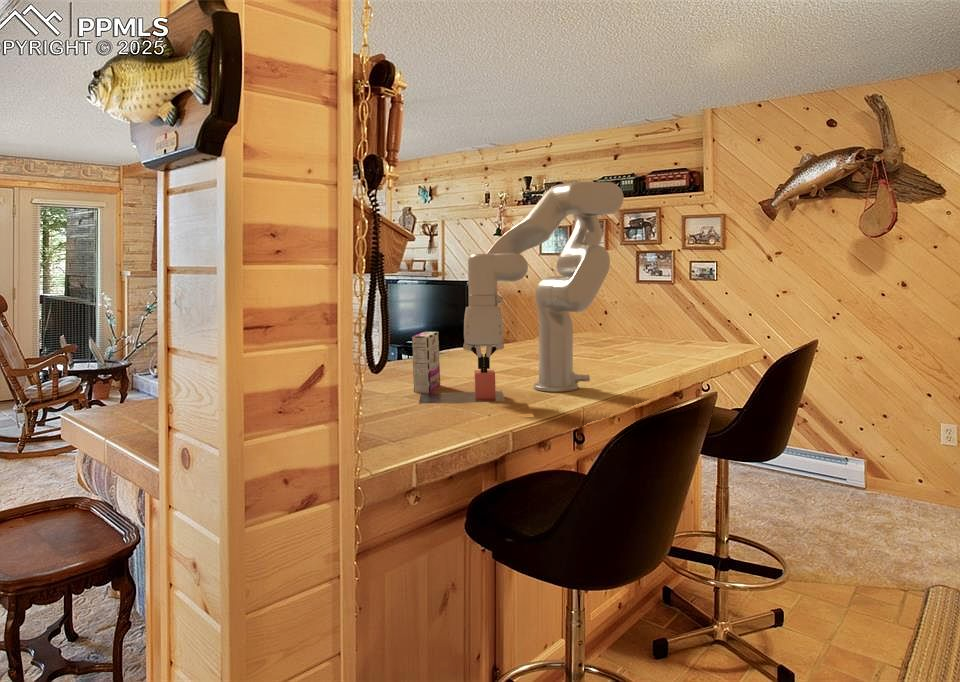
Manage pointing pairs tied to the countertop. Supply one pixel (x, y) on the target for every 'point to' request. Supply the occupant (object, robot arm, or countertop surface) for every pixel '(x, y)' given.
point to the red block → (484, 384)
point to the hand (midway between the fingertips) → (483, 371)
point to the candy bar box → (426, 362)
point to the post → (457, 397)
